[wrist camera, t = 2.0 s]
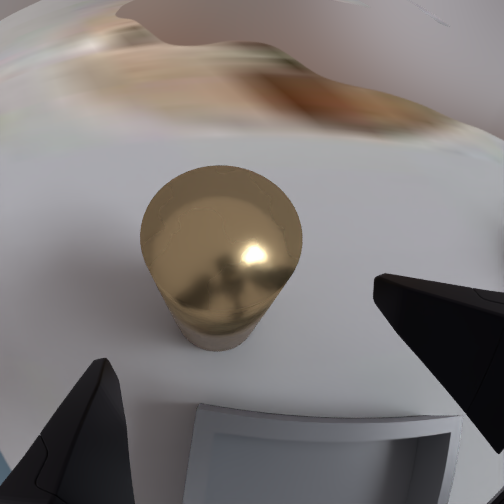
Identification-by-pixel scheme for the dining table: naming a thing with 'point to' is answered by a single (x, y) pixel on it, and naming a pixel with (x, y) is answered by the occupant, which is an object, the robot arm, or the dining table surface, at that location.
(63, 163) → the dining table surface
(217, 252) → the brass canister
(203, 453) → the charcoal bin
